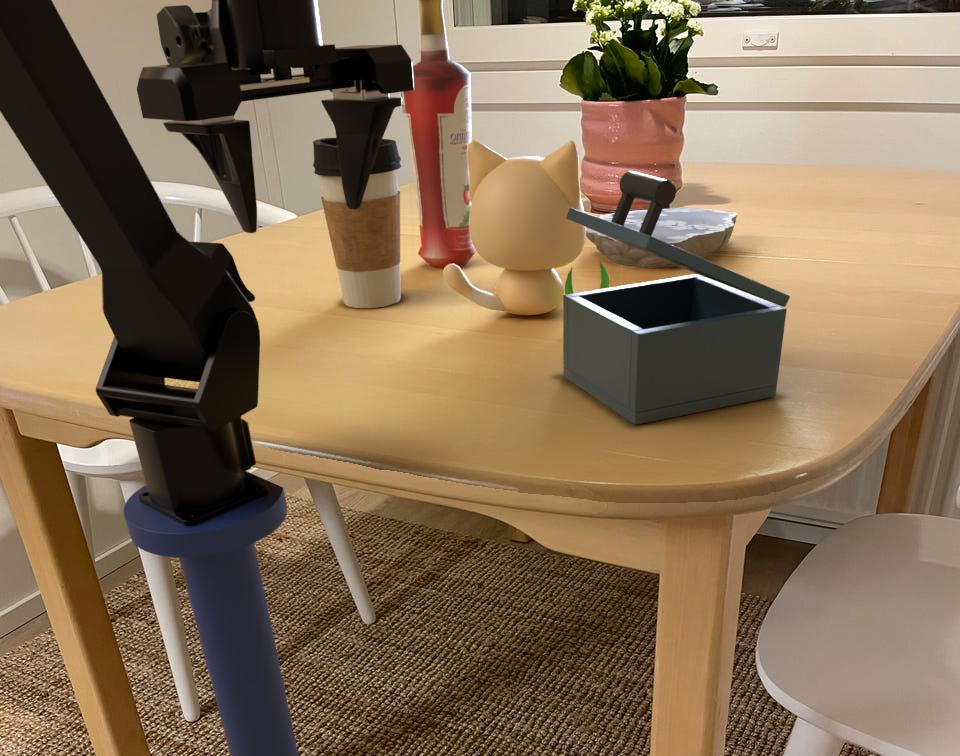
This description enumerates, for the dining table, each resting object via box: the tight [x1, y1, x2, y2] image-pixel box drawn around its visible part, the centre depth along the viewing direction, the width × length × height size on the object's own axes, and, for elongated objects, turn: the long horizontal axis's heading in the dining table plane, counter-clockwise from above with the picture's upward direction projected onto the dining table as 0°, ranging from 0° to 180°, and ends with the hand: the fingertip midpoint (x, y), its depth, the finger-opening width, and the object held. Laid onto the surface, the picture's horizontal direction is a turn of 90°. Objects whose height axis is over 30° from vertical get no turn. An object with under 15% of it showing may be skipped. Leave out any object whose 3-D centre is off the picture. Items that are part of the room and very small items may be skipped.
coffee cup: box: [312, 137, 402, 309], centre depth 94 cm, size 8×8×15 cm
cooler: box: [562, 273, 787, 426], centre depth 72 cm, size 12×12×6 cm
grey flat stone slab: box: [586, 207, 738, 269], centre depth 110 cm, size 20×17×3 cm
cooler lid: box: [566, 170, 791, 308], centre depth 67 cm, size 13×12×4 cm
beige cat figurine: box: [442, 139, 611, 316], centre depth 88 cm, size 15×10×15 cm, turn 64°
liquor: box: [402, 0, 477, 269], centre depth 103 cm, size 7×7×28 cm
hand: (303, 220), depth 68 cm, fingers open, 9 cm apart
